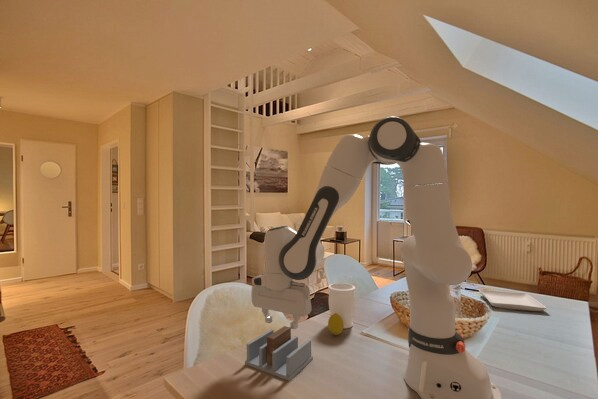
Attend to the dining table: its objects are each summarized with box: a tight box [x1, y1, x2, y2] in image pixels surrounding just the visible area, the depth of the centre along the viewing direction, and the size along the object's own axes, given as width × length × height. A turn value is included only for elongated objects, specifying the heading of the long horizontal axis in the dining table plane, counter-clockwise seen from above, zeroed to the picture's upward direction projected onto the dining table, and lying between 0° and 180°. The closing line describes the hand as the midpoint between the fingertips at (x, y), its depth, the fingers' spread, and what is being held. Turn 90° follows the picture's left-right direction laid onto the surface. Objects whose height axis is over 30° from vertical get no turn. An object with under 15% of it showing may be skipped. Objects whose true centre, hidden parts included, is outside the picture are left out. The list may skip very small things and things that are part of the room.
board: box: [267, 325, 292, 366], centre depth 91 cm, size 2×9×8 cm, turn 148°
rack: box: [244, 328, 314, 382], centre depth 91 cm, size 16×13×6 cm
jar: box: [328, 282, 357, 330], centre depth 118 cm, size 11×10×15 cm
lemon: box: [327, 313, 344, 336], centre depth 109 cm, size 6×6×8 cm
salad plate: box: [478, 289, 547, 312], centre depth 140 cm, size 21×21×3 cm
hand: (281, 325), depth 91 cm, fingers open, 8 cm apart
